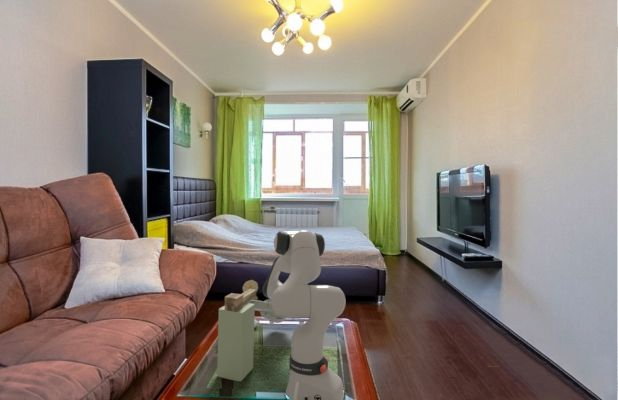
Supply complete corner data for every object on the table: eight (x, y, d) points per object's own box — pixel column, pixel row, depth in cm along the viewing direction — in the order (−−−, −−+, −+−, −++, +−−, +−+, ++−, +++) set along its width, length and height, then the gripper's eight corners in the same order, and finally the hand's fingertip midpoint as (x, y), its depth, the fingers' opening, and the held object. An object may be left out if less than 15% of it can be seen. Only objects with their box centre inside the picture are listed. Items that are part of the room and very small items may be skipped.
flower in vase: (230, 327, 171) (231, 279, 170) (246, 320, 180) (247, 274, 179) (248, 335, 164) (250, 284, 162) (264, 327, 173) (266, 279, 172)
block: (258, 297, 142) (258, 285, 141) (236, 312, 124) (236, 298, 124) (247, 295, 143) (247, 283, 143) (224, 310, 126) (224, 296, 126)
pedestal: (253, 368, 134) (254, 304, 133) (240, 381, 125) (242, 313, 124) (230, 363, 137) (232, 300, 136) (217, 376, 128) (218, 309, 127)
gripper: (251, 299, 164) (239, 292, 153) (290, 305, 158) (281, 298, 147) (248, 312, 162) (235, 307, 150) (288, 319, 156) (278, 313, 144)
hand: (258, 303), depth 148 cm, fingers open, 8 cm apart
